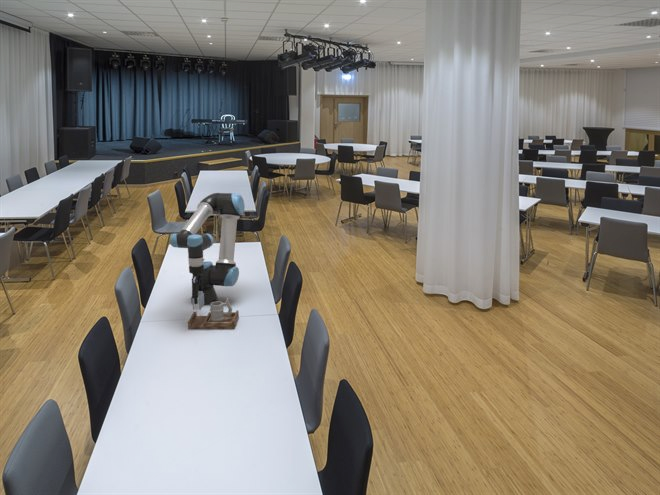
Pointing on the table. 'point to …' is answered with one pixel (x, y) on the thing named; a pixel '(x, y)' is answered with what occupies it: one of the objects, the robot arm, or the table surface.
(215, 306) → the mug
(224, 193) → the robot arm
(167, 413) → the table surface
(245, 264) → the table surface
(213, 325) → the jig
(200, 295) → the blue-grey rectangular block
